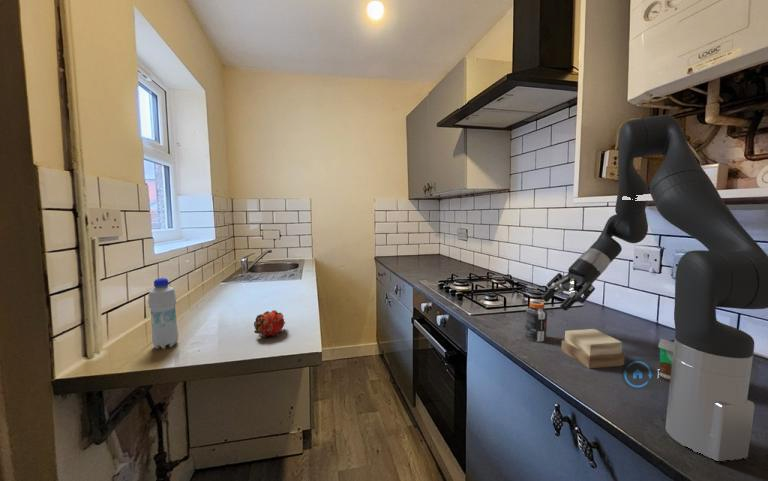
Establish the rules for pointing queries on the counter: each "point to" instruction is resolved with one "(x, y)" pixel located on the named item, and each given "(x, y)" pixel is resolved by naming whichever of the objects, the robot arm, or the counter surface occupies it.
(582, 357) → the tower base
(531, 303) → the pill bottle
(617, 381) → the counter surface
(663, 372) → the food container
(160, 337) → the bottle
